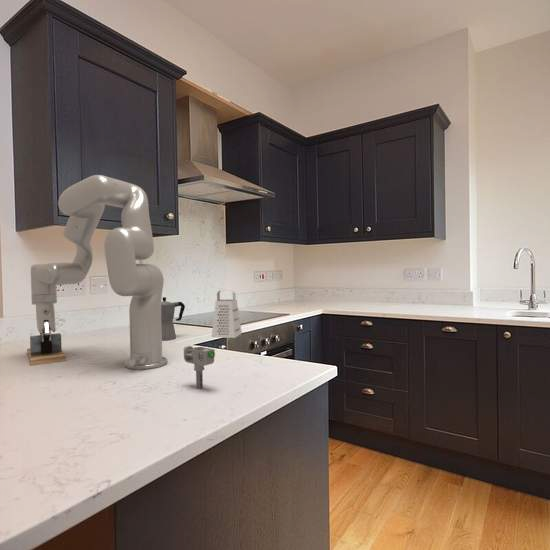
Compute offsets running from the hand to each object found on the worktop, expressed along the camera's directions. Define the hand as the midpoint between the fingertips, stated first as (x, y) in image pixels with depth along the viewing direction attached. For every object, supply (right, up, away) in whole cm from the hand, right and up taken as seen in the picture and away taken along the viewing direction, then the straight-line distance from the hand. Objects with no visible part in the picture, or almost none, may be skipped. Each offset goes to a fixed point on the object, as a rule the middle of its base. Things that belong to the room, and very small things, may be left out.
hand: (45, 351), depth 134 cm
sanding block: (0, 0, 0) cm, 0 cm away
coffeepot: (+33, -1, +32) cm, 46 cm away
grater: (+58, 0, +38) cm, 69 cm away
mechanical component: (+61, -2, -37) cm, 71 cm away
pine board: (-1, -2, +1) cm, 3 cm away
